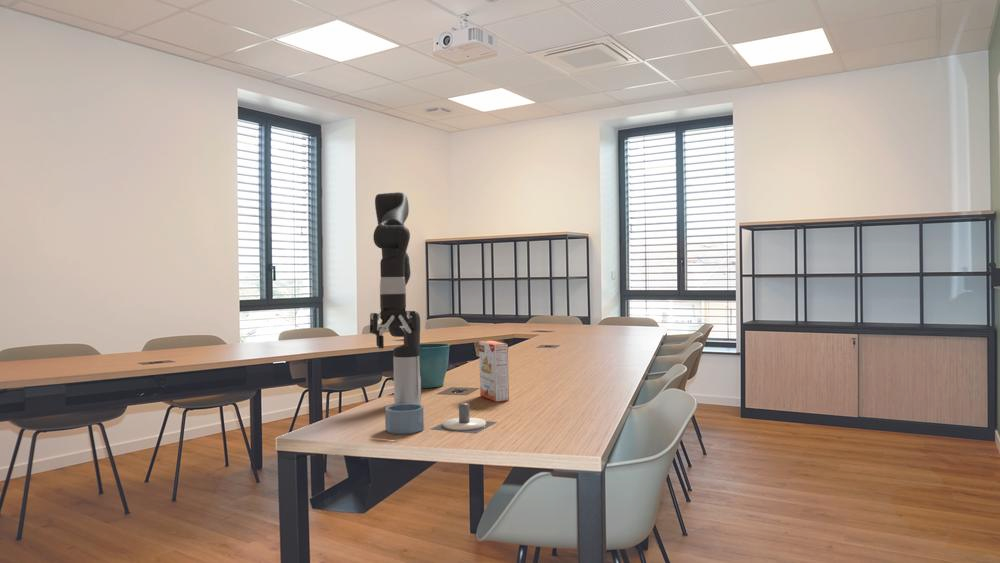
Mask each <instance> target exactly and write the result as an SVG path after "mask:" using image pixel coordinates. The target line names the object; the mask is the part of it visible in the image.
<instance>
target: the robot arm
mask: <svg viewBox="0 0 1000 563" xmlns="http://www.w3.org/2000/svg"><path fill="white" fill-rule="evenodd" d="M374 198H375V199H374V206H375V214H376V218H377V219H376V220H377V226H376V227H375V229H374V231H373V236H372V237H373V239H372V240H373V243H374V245H375V246H376V247H377V248H379V249H381V259H380V263H379V264H380V269H379V270H380V279H379V280H380V282H379V302H380V303H379V308H380V312H379V313H376V312H371V313H370V314H369V334H373V335H375V337H376V347H378V349H381V350H382V349H384V348H385V345H384V342H385V341H384V339H385V338H384V334H385V331H387V329H388V332H389V334H390V335H391V337H395V338H397V337H398V338H403V344H401V345H400V346H396V347H395V348H393V352H392V353H393V355H392V356H393V358H392V359H393V405H397V404H419V405H421V403H422V388H421V377H420V364H419V350H420V344H421V316H420V313H419V312H418V311H415V310H406V308H407V307H406V306H407V305H406V304H407V298H406V297H407V295H406V293H407V289H406V286H407V284H408V283H409V280H410V279H411V278H410V277H411V265H410V256H409V254H408V253H407V250H408V247H409V243H410V239H411V238H410V237H411V232H410V230H409V228H408V227H407V225H405V222H406V220H407V218H408V216H409V208H410V206H409V200H408V197H407V195H406V194H405V193H404V192H399V191H398V192H388V193H378V194H376V195H375V197H374ZM379 320H381V322H380V324H379V325H378V321H379Z"/></svg>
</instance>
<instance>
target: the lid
mask: <svg viewBox="0 0 1000 563" xmlns="http://www.w3.org/2000/svg"><path fill="white" fill-rule="evenodd" d="M486 421H487V420H486V419H483V418H478V417H470V403H469V402H460V403H459V404H458V417H453V418H448V419H445V420H444V421H442V424H443V428H445V429H449V430H456V431H467V430H476V429H481V428H483V427H485V426H486Z"/></svg>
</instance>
